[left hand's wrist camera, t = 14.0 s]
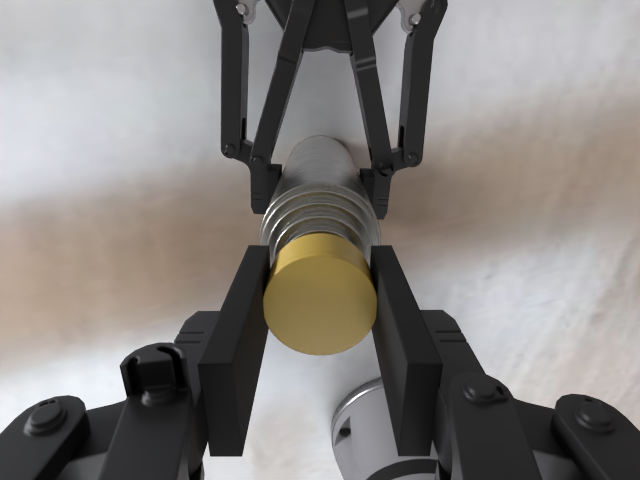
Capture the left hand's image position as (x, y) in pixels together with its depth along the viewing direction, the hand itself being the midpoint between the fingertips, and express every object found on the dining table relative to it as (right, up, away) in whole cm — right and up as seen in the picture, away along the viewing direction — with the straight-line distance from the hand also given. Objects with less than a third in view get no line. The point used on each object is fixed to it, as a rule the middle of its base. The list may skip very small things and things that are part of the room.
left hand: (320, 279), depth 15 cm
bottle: (0, +7, +19) cm, 20 cm away
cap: (0, -1, -2) cm, 2 cm away
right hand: (0, 0, +15) cm, 15 cm away
